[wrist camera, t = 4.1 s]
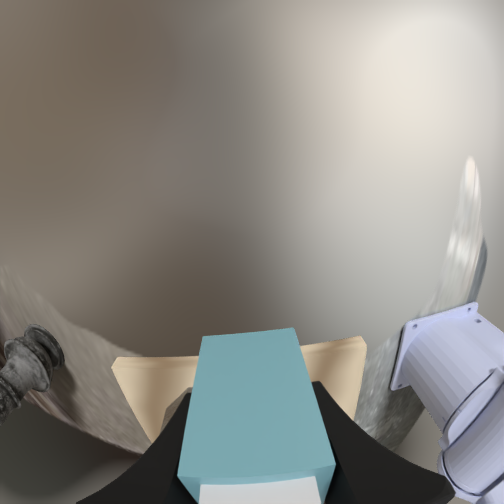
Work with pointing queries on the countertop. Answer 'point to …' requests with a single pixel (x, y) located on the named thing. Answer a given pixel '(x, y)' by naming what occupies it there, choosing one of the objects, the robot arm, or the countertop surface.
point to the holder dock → (184, 368)
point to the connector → (254, 424)
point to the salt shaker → (27, 367)
